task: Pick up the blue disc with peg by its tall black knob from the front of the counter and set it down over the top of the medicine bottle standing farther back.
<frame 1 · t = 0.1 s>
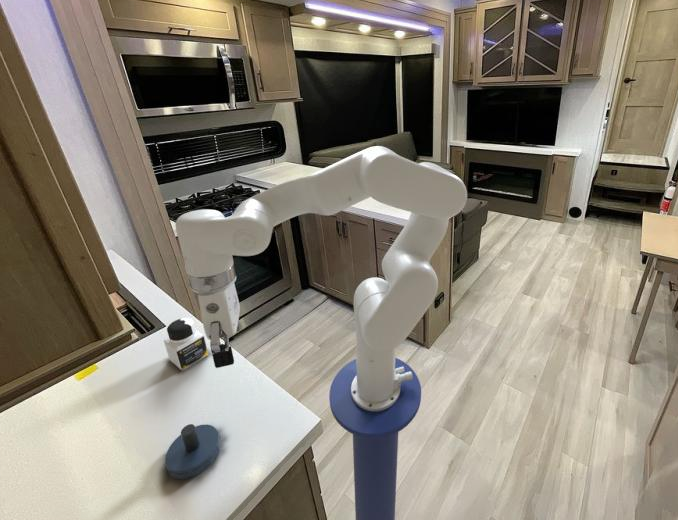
hand: (228, 347, 65), 22 cm above the worktop, tool pointing down, fingers open, 9 cm apart
medicine bottle: (189, 357, 90), on the worktop
blue disc with peg: (195, 453, 66), on the worktop
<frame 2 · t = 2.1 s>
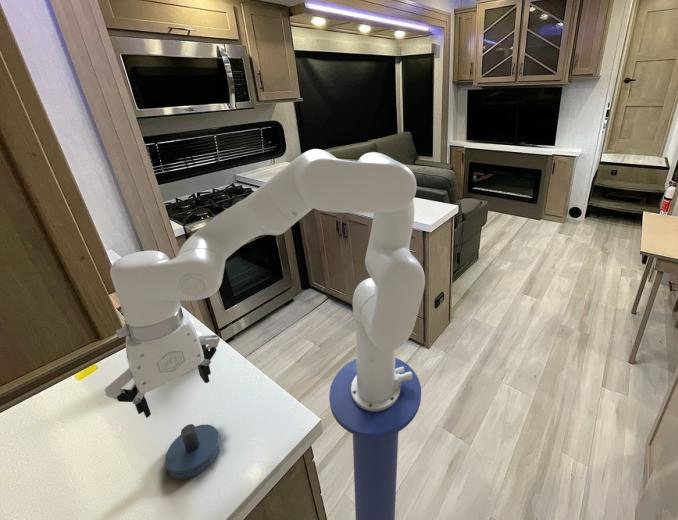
hand: (177, 394, 60), 17 cm above the worktop, tool pointing down, fingers open, 9 cm apart
nothing on the worktop moved.
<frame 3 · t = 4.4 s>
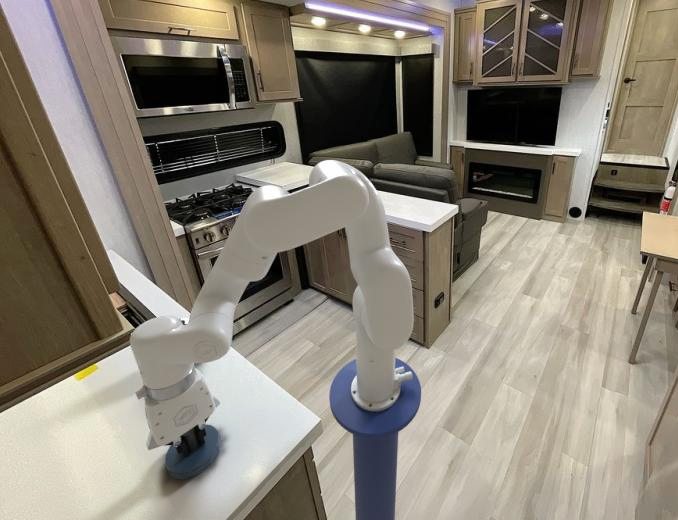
hand: (192, 445, 65), 3 cm above the worktop, tool pointing down, fingers closed on blue disc with peg, 2 cm apart
blue disc with peg: (195, 453, 66), on the worktop, touching gripper
everything else where it was.
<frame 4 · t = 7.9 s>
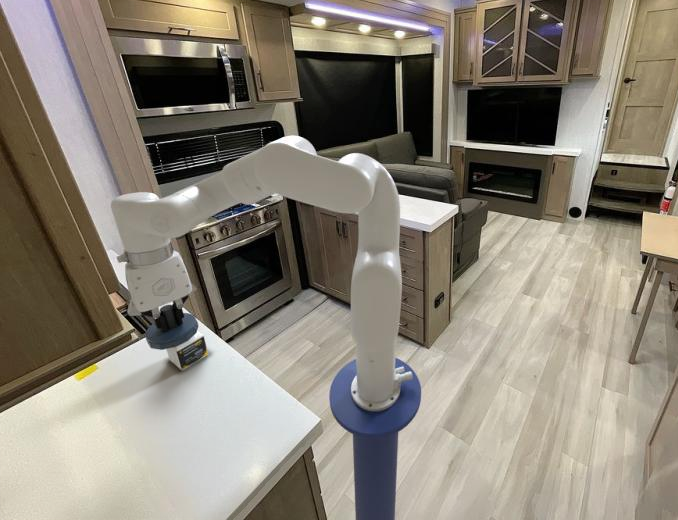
hand: (171, 324, 71), 21 cm above the worktop, tool pointing down, fingers closed on blue disc with peg, 2 cm apart
blue disc with peg: (173, 334, 72), point 19 cm above the worktop, touching gripper
everything else where it was.
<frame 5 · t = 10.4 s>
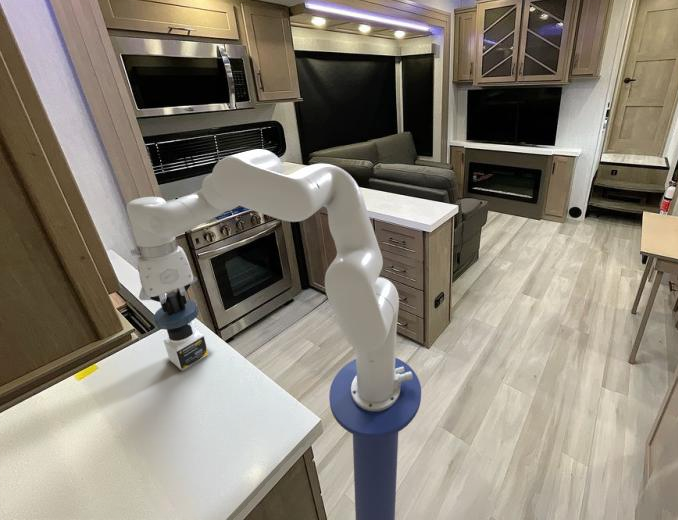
hand: (175, 309, 84), 17 cm above the worktop, tool pointing down, fingers closed on blue disc with peg, 2 cm apart
blue disc with peg: (177, 317, 85), point 14 cm above the worktop, touching gripper
everything else where it was.
when the fingers open (13 cm above the worktop, at t = 11.6 s): blue disc with peg stays where it is, resting on medicine bottle.
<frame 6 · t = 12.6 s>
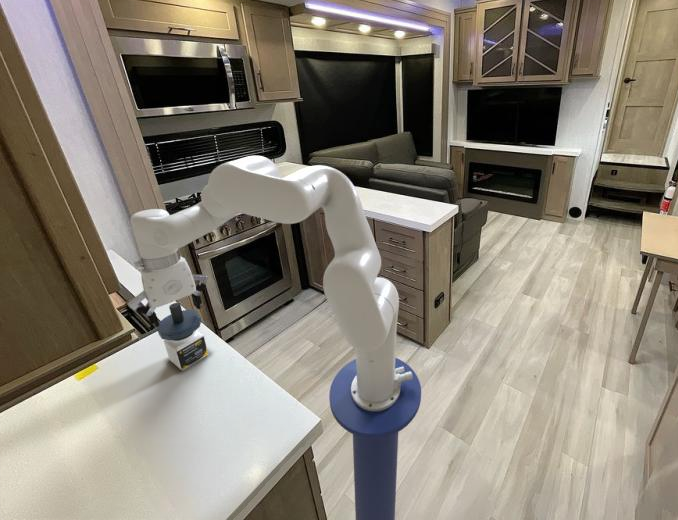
hand: (177, 315, 85), 15 cm above the worktop, tool pointing down, fingers open, 9 cm apart
medicine bottle: (189, 357, 90), on the worktop, touching blue disc with peg
blue disc with peg: (180, 327, 86), point 11 cm above the worktop, touching medicine bottle
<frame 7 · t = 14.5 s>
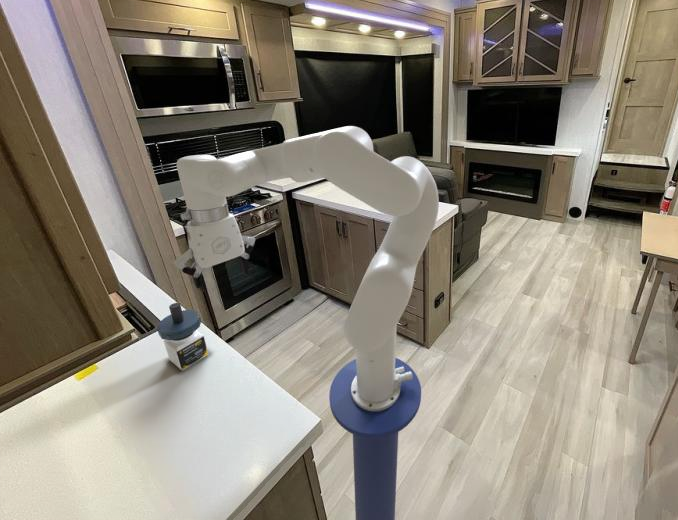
hand: (224, 280, 75), 29 cm above the worktop, tool pointing down, fingers open, 9 cm apart
nothing on the worktop moved.
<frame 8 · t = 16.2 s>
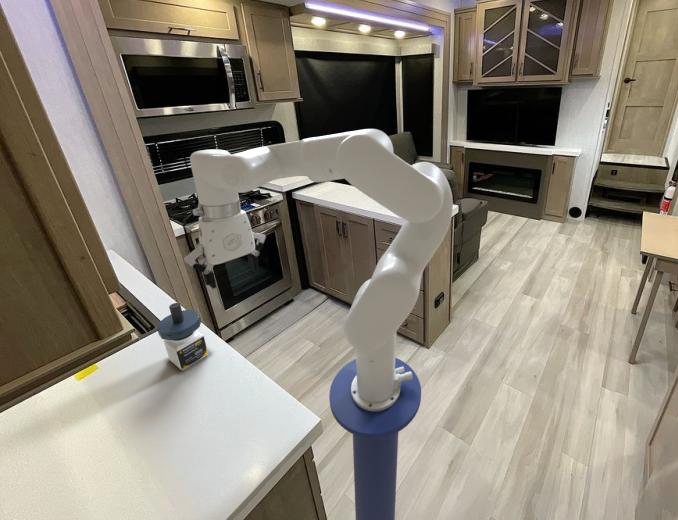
hand: (233, 277, 74), 30 cm above the worktop, tool pointing down, fingers open, 9 cm apart
nothing on the worktop moved.
at the end: blue disc with peg 0.1 cm off-centre in the medicine bottle, point 10.7 cm above the medicine bottle's base; blue disc with peg tilted 0°; medicine bottle tilted 0° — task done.
